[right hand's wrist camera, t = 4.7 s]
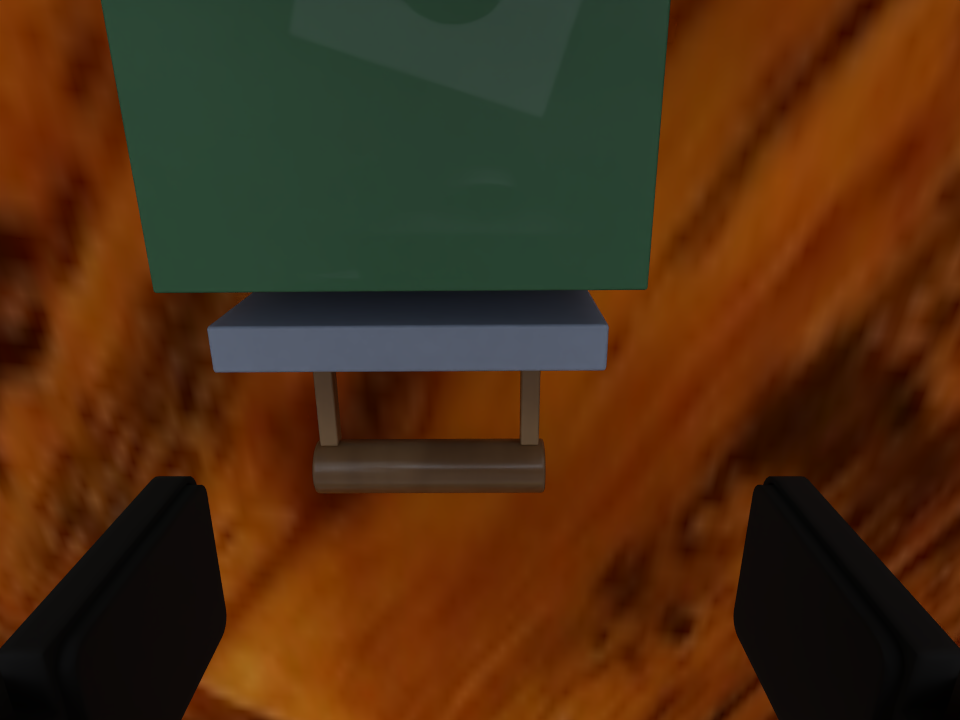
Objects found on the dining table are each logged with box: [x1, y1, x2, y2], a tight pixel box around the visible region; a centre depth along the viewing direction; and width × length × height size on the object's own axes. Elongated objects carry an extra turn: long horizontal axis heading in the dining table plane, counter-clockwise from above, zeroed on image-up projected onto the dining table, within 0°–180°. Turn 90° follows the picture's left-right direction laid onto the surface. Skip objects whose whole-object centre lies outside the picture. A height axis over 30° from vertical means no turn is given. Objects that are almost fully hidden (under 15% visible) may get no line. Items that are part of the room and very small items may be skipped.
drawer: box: [207, 290, 609, 493], centre depth 19 cm, size 21×10×10 cm, turn 0°
